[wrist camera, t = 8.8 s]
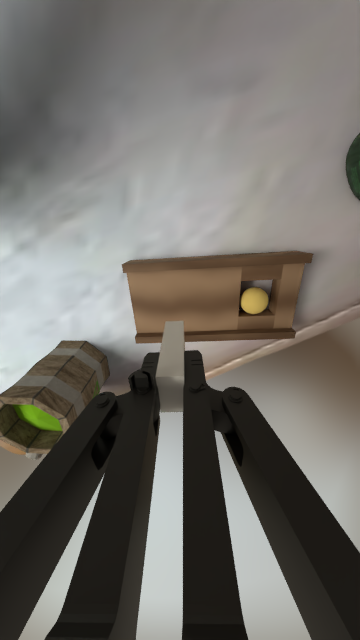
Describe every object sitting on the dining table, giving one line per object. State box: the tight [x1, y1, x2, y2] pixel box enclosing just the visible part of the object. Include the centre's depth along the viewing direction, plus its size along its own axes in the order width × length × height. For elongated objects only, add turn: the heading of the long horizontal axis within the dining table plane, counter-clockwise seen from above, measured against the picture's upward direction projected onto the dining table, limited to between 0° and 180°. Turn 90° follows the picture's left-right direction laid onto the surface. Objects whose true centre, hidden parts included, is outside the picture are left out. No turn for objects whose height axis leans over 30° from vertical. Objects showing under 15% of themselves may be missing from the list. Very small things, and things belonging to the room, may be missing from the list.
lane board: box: [122, 251, 313, 343], centre depth 26 cm, size 11×22×4 cm, turn 93°
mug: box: [0, 341, 110, 460], centre depth 29 cm, size 16×11×12 cm
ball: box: [240, 287, 268, 314], centre depth 26 cm, size 4×4×4 cm
